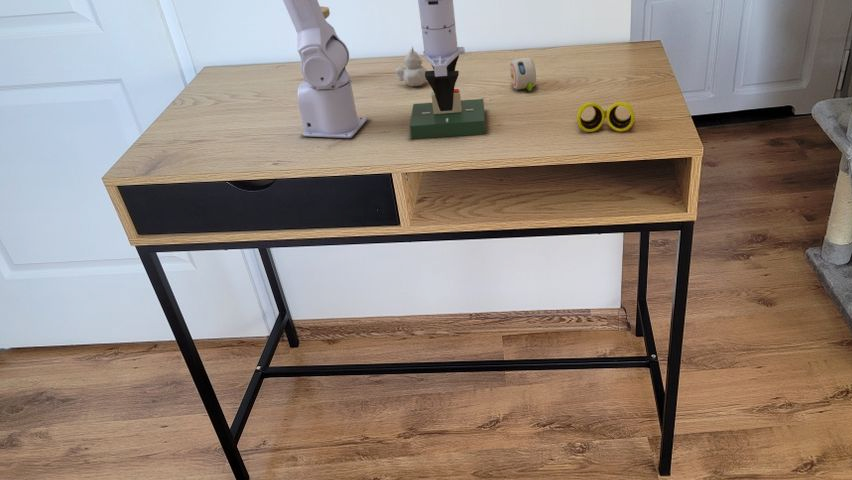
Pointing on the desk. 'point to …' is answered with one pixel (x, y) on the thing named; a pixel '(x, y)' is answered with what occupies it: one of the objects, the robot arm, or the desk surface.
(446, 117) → the console
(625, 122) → the opera glasses
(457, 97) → the red topped block
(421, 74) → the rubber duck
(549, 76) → the desk surface
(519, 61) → the roller toy
